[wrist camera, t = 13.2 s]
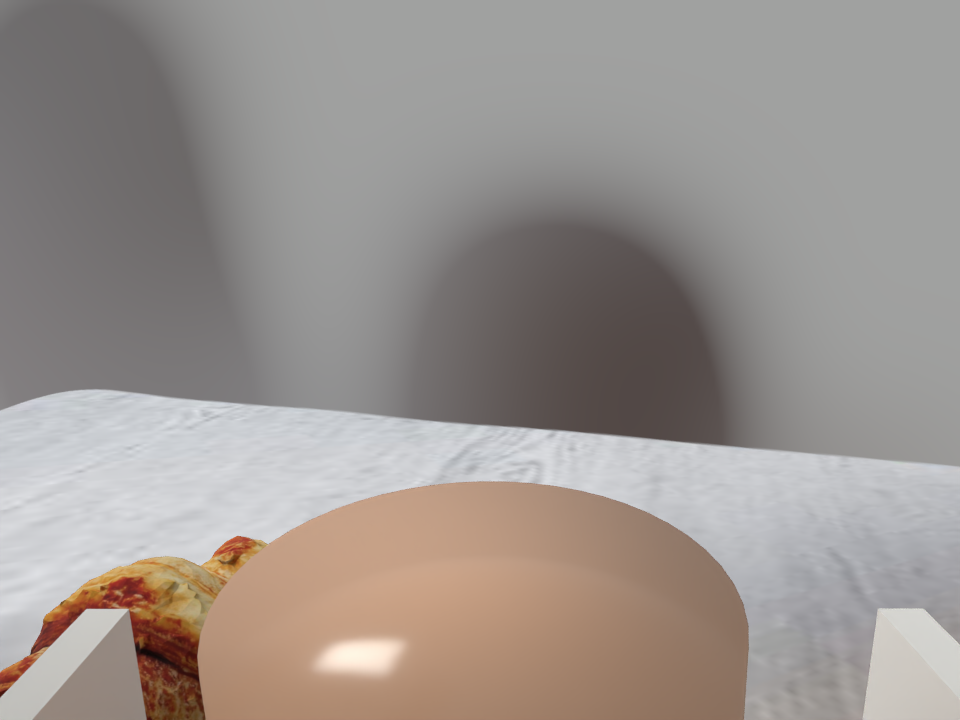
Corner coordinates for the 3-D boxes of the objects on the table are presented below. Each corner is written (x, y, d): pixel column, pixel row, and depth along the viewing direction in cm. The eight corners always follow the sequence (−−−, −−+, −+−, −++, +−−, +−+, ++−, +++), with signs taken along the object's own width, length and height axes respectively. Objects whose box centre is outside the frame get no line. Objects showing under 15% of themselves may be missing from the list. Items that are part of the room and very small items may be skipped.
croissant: (324, 621, 40) (269, 493, 40) (452, 590, 34) (387, 442, 35) (-139, 960, 22) (-232, 728, 22) (-26, 1009, 17) (-152, 701, 17)
